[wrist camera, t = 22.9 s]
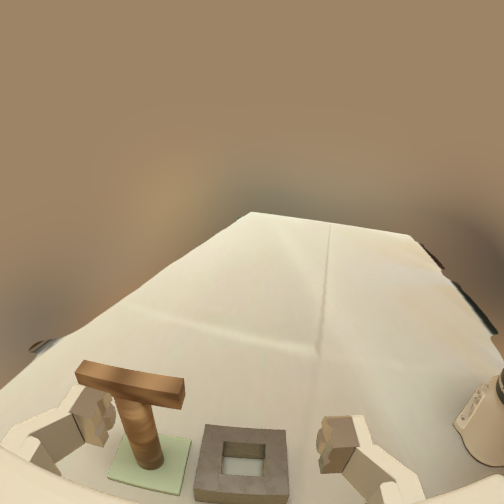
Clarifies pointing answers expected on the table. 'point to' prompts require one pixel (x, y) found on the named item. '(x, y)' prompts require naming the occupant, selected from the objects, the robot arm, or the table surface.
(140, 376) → the chuck key
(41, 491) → the robot arm
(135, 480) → the key mat
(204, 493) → the block
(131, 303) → the table surface
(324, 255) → the table surface
